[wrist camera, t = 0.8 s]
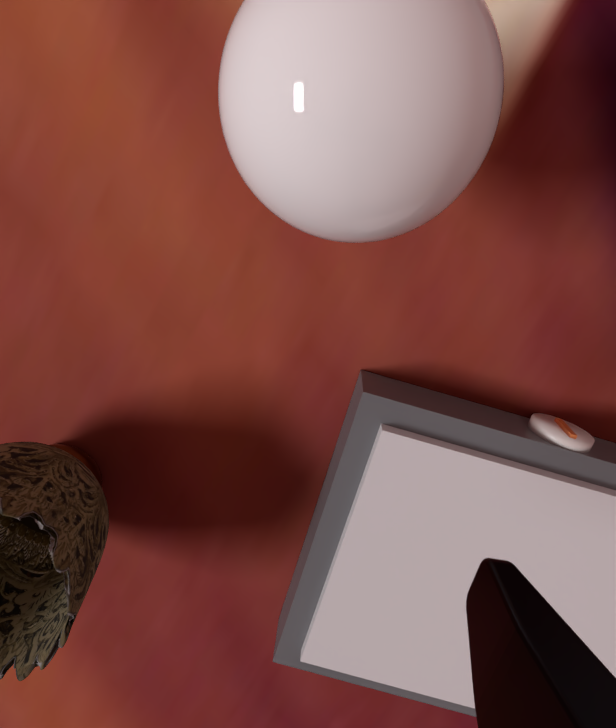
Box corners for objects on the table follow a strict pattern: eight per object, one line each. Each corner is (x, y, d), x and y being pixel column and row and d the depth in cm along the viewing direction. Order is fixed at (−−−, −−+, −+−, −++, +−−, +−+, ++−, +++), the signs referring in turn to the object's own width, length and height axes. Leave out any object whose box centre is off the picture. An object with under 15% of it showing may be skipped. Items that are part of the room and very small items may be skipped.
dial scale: (596, 704, 28) (628, 769, 25) (279, 618, 27) (271, 673, 24) (736, 464, 23) (795, 505, 20) (365, 357, 23) (368, 383, 20)
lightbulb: (471, 73, 20) (617, -54, 9) (399, 247, 22) (453, 304, 11) (299, 4, 19) (250, -210, 9) (241, 186, 21) (145, 188, 11)
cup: (-48, 456, 25) (-214, 571, 18) (69, 364, 24) (-59, 447, 16) (66, 572, 27) (-41, 724, 19) (183, 493, 25) (116, 625, 18)
